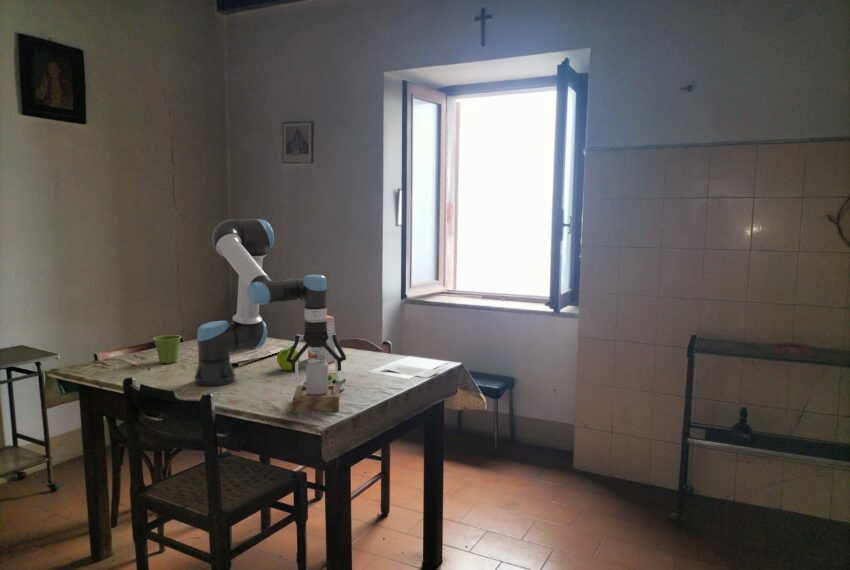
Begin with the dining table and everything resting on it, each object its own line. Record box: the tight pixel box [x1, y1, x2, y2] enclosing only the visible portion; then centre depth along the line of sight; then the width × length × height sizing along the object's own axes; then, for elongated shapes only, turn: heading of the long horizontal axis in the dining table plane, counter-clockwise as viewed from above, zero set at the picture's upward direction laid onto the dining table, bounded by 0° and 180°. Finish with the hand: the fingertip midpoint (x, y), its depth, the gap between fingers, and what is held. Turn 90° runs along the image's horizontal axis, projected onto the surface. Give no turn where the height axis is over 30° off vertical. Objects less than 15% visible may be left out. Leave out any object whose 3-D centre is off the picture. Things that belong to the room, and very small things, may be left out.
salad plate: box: [299, 372, 347, 392], centre depth 227 cm, size 19×18×5 cm
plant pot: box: [152, 334, 182, 364], centre depth 268 cm, size 12×12×11 cm
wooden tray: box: [292, 384, 341, 414], centre depth 208 cm, size 15×15×5 cm
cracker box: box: [307, 314, 336, 364], centre depth 271 cm, size 14×6×21 cm, turn 44°
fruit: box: [276, 345, 300, 371], centre depth 255 cm, size 9×9×10 cm
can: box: [305, 358, 329, 396], centre depth 207 cm, size 8×8×12 cm
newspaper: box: [230, 346, 285, 367], centre depth 276 cm, size 35×12×4 cm, turn 158°
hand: (316, 381), depth 207 cm, fingers open, 13 cm apart
